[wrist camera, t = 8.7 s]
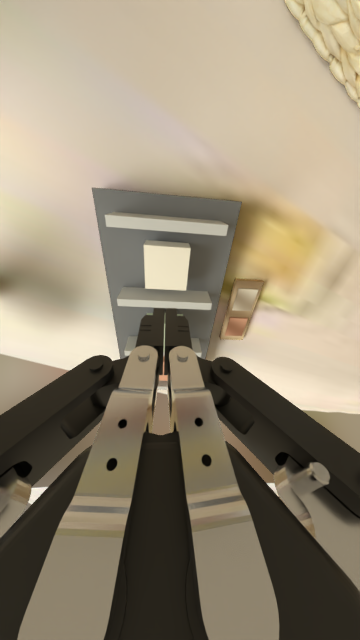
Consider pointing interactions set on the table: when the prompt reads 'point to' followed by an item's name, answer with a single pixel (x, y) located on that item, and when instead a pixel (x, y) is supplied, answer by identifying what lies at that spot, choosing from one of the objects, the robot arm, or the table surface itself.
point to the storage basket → (334, 36)
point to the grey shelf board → (171, 226)
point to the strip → (240, 308)
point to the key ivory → (166, 265)
